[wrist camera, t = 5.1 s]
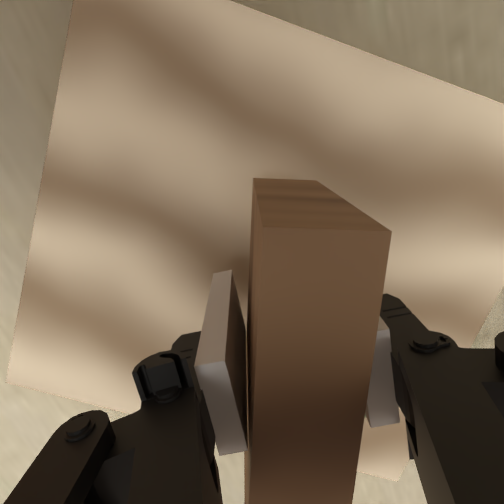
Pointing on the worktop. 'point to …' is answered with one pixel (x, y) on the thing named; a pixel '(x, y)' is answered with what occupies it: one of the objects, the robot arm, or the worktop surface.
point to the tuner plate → (239, 187)
